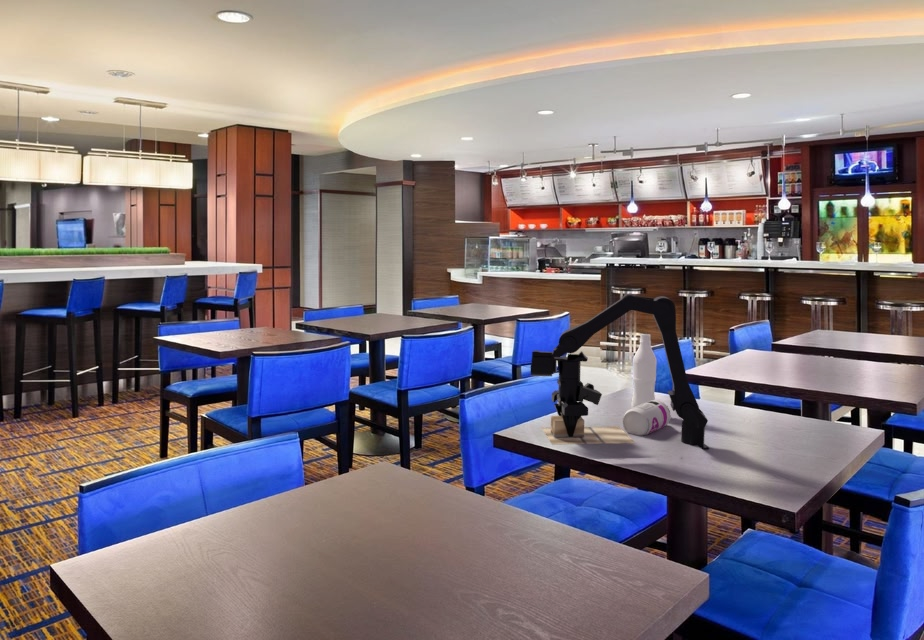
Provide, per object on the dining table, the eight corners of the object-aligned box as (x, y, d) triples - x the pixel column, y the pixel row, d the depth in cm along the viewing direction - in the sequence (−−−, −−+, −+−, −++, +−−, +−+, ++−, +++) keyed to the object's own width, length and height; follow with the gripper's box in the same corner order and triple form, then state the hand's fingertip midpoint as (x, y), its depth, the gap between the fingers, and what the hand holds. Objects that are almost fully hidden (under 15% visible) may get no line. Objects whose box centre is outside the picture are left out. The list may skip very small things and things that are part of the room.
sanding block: (583, 436, 180) (584, 420, 180) (554, 437, 180) (554, 420, 179) (579, 431, 185) (580, 415, 184) (550, 431, 184) (551, 415, 184)
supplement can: (676, 411, 191) (654, 421, 179) (662, 433, 194) (638, 444, 183) (653, 393, 195) (630, 402, 183) (639, 415, 198) (615, 425, 187)
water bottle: (657, 417, 206) (660, 336, 203) (634, 417, 206) (636, 336, 204) (651, 411, 213) (654, 333, 211) (629, 411, 213) (631, 333, 211)
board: (635, 447, 175) (635, 442, 175) (551, 448, 174) (551, 444, 174) (618, 430, 191) (618, 426, 191) (541, 431, 190) (541, 427, 190)
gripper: (608, 383, 172) (607, 443, 173) (590, 370, 190) (589, 424, 192) (565, 384, 171) (564, 444, 173) (551, 370, 190) (550, 425, 191)
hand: (568, 433), depth 182 cm, fingers closed on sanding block, 5 cm apart
